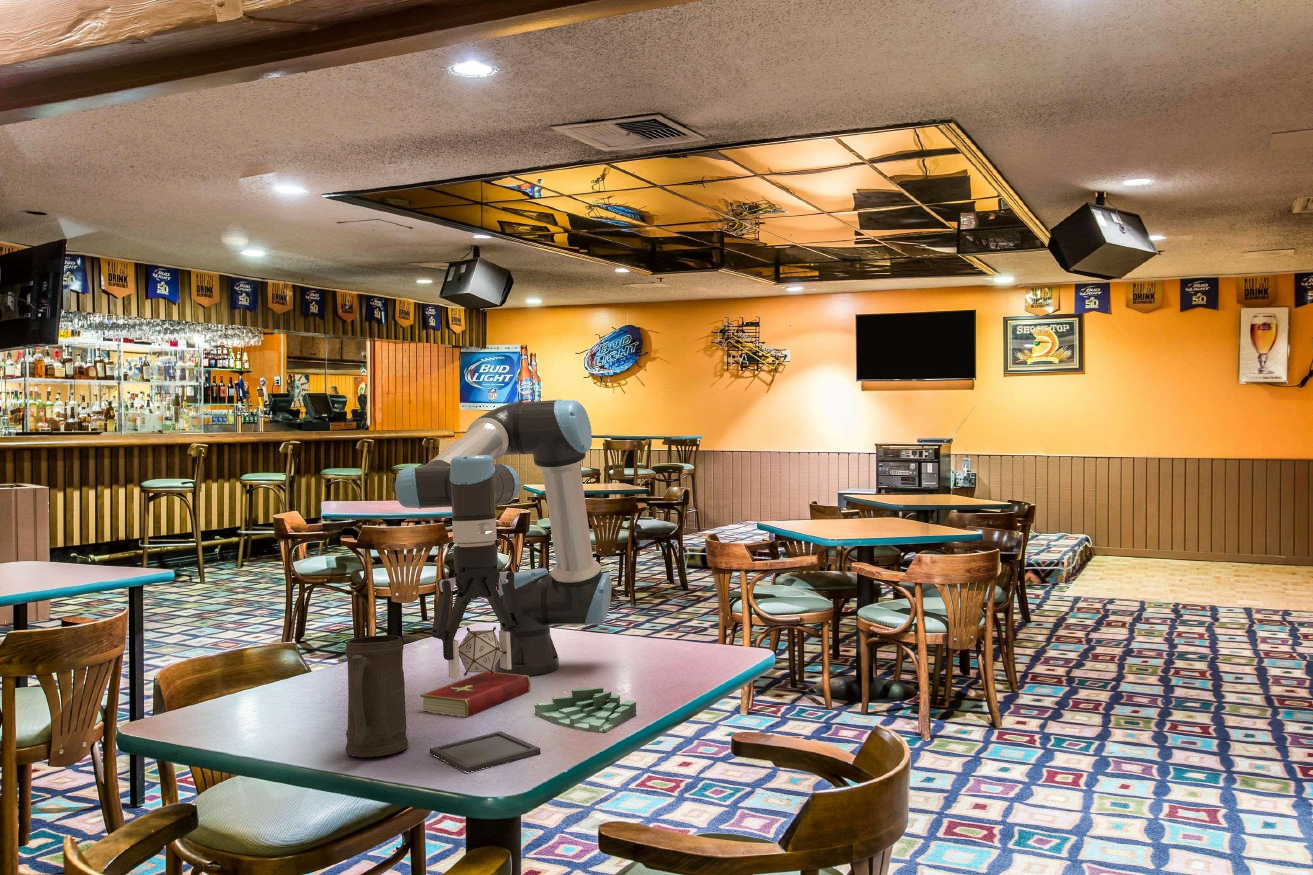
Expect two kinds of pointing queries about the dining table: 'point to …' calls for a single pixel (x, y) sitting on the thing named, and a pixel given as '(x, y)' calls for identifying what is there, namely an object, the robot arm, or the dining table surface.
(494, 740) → the mat
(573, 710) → the green curved brick section
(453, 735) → the dining table surface
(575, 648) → the dining table surface
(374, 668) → the beer stein
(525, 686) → the hardcover book
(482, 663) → the game die
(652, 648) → the dining table surface
